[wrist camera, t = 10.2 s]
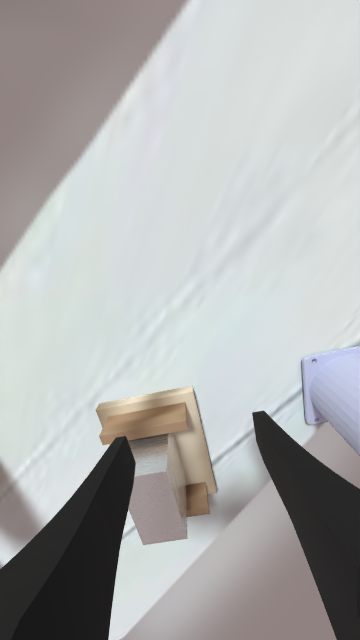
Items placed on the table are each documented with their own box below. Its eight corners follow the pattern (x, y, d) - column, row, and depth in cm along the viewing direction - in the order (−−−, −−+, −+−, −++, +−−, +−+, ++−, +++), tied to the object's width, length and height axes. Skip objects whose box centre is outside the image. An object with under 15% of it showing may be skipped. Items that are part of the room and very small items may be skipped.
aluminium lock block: (169, 418, 21) (166, 471, 16) (185, 476, 24) (187, 538, 18) (131, 425, 22) (116, 479, 16) (151, 481, 24) (143, 545, 19)
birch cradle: (192, 385, 22) (194, 409, 18) (215, 484, 25) (220, 518, 22) (99, 403, 22) (85, 429, 19) (135, 497, 26) (129, 532, 23)
